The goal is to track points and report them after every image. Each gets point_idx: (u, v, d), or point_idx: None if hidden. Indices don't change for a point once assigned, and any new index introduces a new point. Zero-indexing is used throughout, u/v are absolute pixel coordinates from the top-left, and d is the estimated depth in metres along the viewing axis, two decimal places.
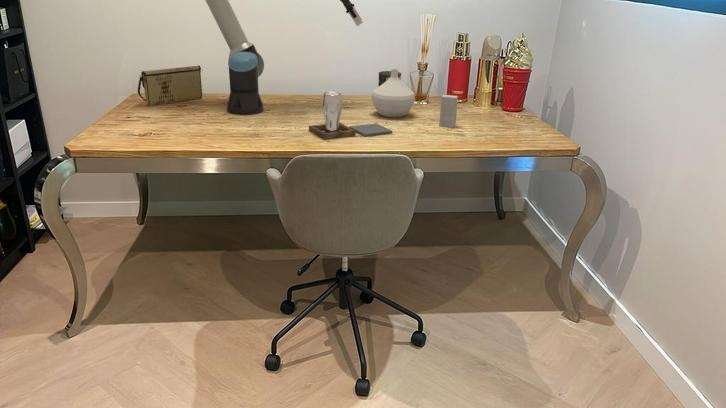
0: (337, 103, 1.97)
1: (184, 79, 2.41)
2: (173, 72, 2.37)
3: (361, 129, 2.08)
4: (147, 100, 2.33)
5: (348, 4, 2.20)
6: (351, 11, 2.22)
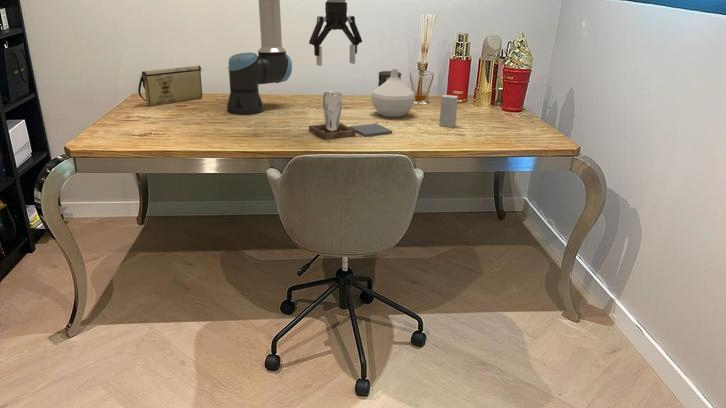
0: (337, 103, 1.97)
1: (184, 79, 2.41)
2: (173, 72, 2.37)
3: (361, 129, 2.08)
4: (147, 100, 2.32)
5: (312, 38, 1.87)
6: (315, 47, 1.89)
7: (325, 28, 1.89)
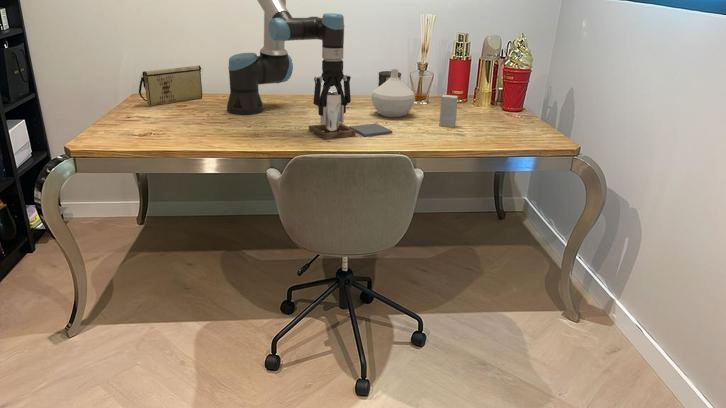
0: (337, 103, 1.97)
1: (185, 79, 2.41)
2: (174, 72, 2.36)
3: (361, 129, 2.08)
4: (148, 100, 2.32)
5: (315, 100, 1.95)
6: (319, 107, 1.98)
7: (324, 87, 1.96)
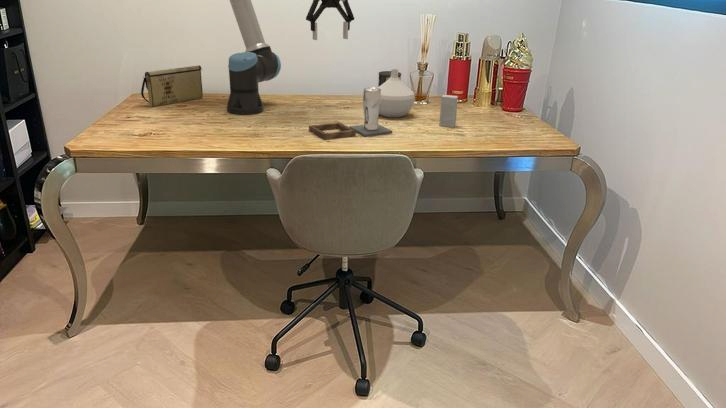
0: (377, 99, 2.01)
1: (186, 79, 2.41)
2: (175, 72, 2.36)
3: (361, 129, 2.08)
4: (151, 101, 2.32)
5: (309, 15, 2.10)
6: (311, 23, 2.12)
7: (320, 6, 2.12)
